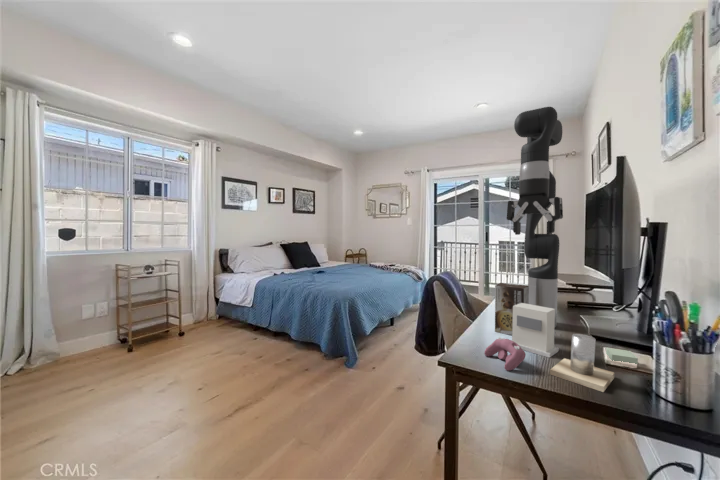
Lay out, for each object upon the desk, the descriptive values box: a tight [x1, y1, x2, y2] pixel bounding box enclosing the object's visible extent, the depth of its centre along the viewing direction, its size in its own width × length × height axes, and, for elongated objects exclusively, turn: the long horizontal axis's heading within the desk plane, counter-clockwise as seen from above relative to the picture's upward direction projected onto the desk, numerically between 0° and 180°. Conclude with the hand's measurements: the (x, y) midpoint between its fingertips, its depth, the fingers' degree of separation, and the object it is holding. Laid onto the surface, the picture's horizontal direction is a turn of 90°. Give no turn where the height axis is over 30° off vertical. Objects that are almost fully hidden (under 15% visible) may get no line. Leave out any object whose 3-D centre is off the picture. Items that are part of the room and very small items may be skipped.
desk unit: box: [510, 303, 560, 359], centre depth 86 cm, size 7×11×12 cm, turn 39°
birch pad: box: [549, 357, 615, 393], centre depth 69 cm, size 10×10×1 cm
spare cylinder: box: [570, 333, 596, 375], centre depth 69 cm, size 4×4×8 cm
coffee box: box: [494, 282, 529, 336], centre depth 99 cm, size 9×6×16 cm
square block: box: [605, 347, 639, 365], centre depth 76 cm, size 5×5×3 cm
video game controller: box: [483, 336, 526, 372], centre depth 77 cm, size 10×5×7 cm, turn 10°
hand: (532, 234), depth 86 cm, fingers open, 8 cm apart
